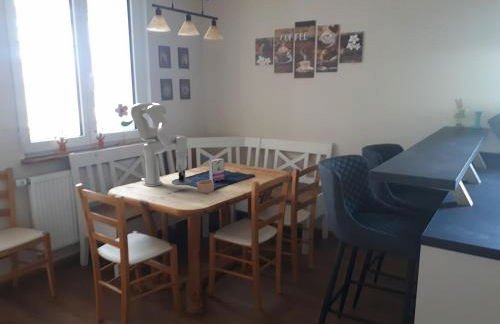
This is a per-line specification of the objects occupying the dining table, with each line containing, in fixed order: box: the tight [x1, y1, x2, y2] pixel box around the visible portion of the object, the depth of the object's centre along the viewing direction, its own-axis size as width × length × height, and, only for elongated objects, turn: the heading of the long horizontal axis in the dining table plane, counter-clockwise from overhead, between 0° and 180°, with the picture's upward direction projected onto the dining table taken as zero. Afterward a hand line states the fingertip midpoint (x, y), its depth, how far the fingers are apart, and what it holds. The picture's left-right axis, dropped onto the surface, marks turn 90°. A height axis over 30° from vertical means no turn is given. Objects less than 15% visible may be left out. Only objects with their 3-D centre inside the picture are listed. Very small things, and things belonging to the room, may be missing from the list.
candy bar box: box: [208, 158, 226, 183], centre depth 299 cm, size 11×5×16 cm, turn 129°
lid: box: [171, 171, 193, 186], centre depth 276 cm, size 14×14×7 cm
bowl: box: [196, 179, 215, 194], centre depth 274 cm, size 11×11×6 cm
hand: (182, 179), depth 277 cm, fingers closed on lid, 3 cm apart
